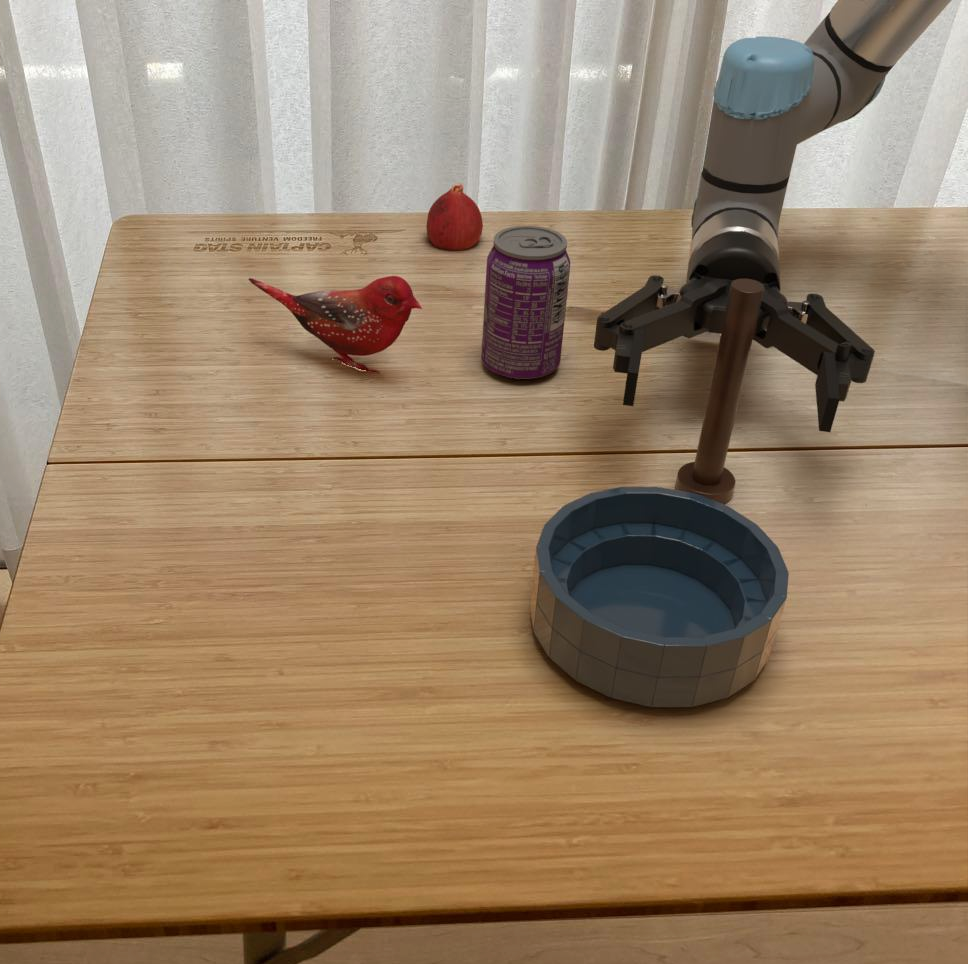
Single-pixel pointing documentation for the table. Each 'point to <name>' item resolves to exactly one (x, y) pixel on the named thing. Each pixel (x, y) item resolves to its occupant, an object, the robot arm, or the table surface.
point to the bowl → (657, 595)
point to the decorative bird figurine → (352, 315)
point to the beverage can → (525, 302)
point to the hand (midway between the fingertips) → (728, 402)
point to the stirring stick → (724, 396)
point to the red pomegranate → (454, 221)
